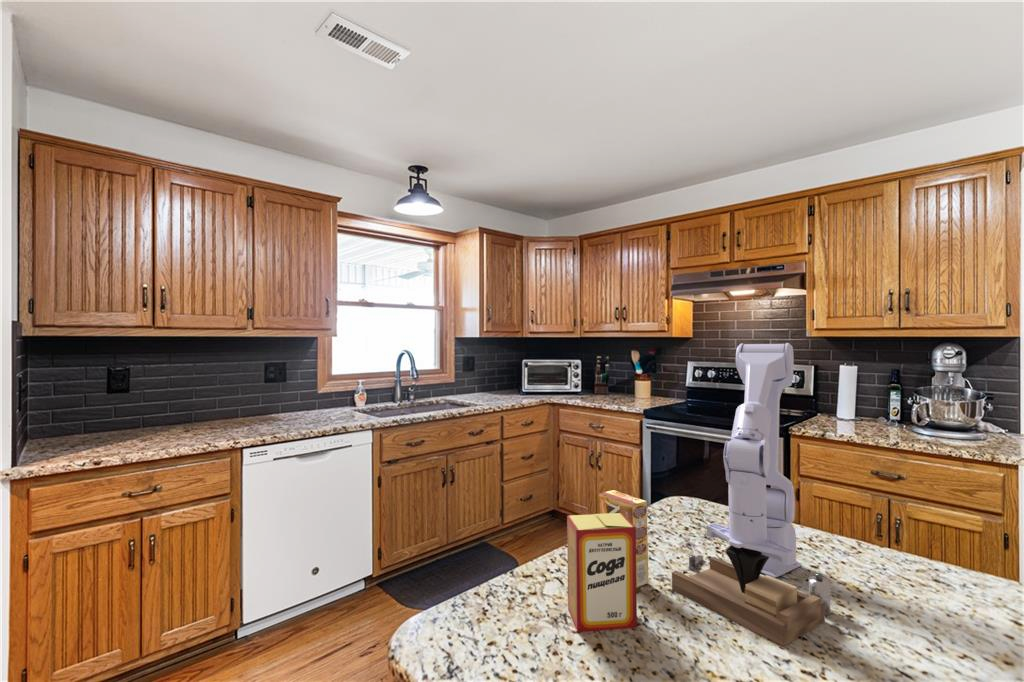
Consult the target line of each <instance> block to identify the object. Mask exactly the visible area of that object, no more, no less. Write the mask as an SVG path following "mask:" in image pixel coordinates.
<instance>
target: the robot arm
mask: <svg viewBox="0 0 1024 682" xmlns="http://www.w3.org/2000/svg"><path fill="white" fill-rule="evenodd" d="M735 351H736V352H735V366H736V370H737V372H738V375H739V378H740V379H741V380H742V381H741V382H742V384H743V385H744V400H743V401H744V402H743V403H742V404H740V405H738V406H737V408H736V409H735V415H734V420H733V424H732V429H731V437H730V440H726V441H725V443H724V448H723V465H724V470H725V480H726V483H728V484H727V485H728V526H727V525H722V524H718V523H715V522H712V523H709V524H706V537H710V538H717V539H719V540H721V541H724V542H728V545H729V547H727V548H726V550H725V554H726V556H727V557H728V558H729V561H730V562H731V564H733V566H734V569H735V571H736V574H737V577H738V580H739V584H740V588H741V592H742V593H744V594H745V588H746V584H748V583H750V582H752V581H754V580H757V579H759V576H761V574H763V575H765V576H766V575H768V576H770V577H773V578H775V579H777V578H779V577H780V576H782V575H784V574H787V573H789V572H790V571H793V570H795V569H798V568H799V567H801V566H802V564H801V562H799V561H797V533H796V529H795V527H794V525H793V524H792V523H793V522H794V521H795V514H796V498H795V486H794V485H793V482H792V481H791V480H790V479H789V478H787V477H786V476H784V474H782V473H781V472H780V471H779V460H780V459H779V457H780V456H779V453H780V451H779V450H780V449H779V448H780V447H779V446H780V403H781V402H780V400H781V396H782V392H783V390H784V389H787V388H790V387H791V386H792V385H793V381H794V367H795V366H794V362H795V361H794V347H793V345H791V343H789V342H786V343H743V342H742V343H740V344H739V345H737V347H736V350H735ZM767 486H773V487H767ZM775 487H778V488H775Z"/></svg>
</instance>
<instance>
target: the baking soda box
mask: <svg viewBox="0 0 1024 682" xmlns="http://www.w3.org/2000/svg"><path fill="white" fill-rule="evenodd" d="M566 524H567V525H566V532H567V533H566V536H567V537H566V539H567V541H566V542H567V545H566V546H567V547H566V548H567V550H566V551H567V555H566V556H567V610H568V612H569V614H570V618H571V620H572V623H573V625H574V627H575V630H576V633H580V632H581V633H583V632H584V633H585V632H596V631H610V630H611V631H613V630H624V629H637V628H638V620H637V619H638V607H637V603H638V602H637V600H638V599H637V597H638V596H637V594H638V593H637V588H636V527H635V526H634V525H633V524H632V523H631V522H630V521H629V520H628V519H627V518H626V517H625V516H624V515H623V514H622V513H607V514H600V513H594V514H577V515H576V514H575V515H574V514H573V515H567V516H566Z"/></svg>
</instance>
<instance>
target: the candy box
mask: <svg viewBox="0 0 1024 682" xmlns="http://www.w3.org/2000/svg"><path fill="white" fill-rule="evenodd" d="M598 496H599V500H598V501H599V514H607V513H622V514H623V515H624V516H625V517H626V518H627V519H628V520H629V521H630V522H631V523H632V524H633V525H634V526H635V527H636V589H637V588H641V586H644V585H645V586H646V584H649V546H648V545H649V543H648V542H649V541H648V540H649V539H648V537H649V536H648V501H647V500H644V499H641V498H639V497H636V496H632V495H630V494H626V493H623V492H620V491H618V490H614V489H613V490H608V491H604V492H600V493H599V494H598Z"/></svg>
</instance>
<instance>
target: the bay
mask: <svg viewBox="0 0 1024 682" xmlns="http://www.w3.org/2000/svg"><path fill="white" fill-rule="evenodd" d="M761 577H763V576H762V575H760V576H759V578H761ZM671 589H672V590H673V591H674V592H676V593H678V594H680V595H682V596H684V597H686V598H689V599H690V600H693V601H694V602H695V603H698V604H700V605H702V606H704V607H706V608H708V609H709V610H710V611H711V610H712V611H714V612H715V613H717V614H719V615H721V616H723V617H724V618H725V617H726V618H727V619H728V620H731V621H733V622H735V623H737V624H739V625H740V626H743V627H744V628H747V629H749V631H752V632H754V633H756V634H757V635H760V636H762V637H764V638H766V639H768V640H769V641H772V642H774V643H775V644H777V645H779V646H781V647H785V646H787V645H788V644H790V643H791V642H793V641H795V640H796V639H798V638H800V637H801V636H803V635H805V634H806V633H808V632H810V631H811V630H813V629H814V628H816V627H818V626H820V625H821V624H823V623H824V622H825V621H826V616H825V602H823V601H821V598H820V597H817V596H815V595H811V596H809V594H806V593H804V592H801V591H799V590H797V591H798V596H797V603H796V604H794V605H793V606H791V607H789V608H787V609H785V610H783V611H781V612H780V613H779V619H777V618H775V617H773V616H771V615H769V614H767V613H765V612H763V611H760V610H758V609H756V608H754V607H752V606H750V605H748V604H746V603H745V601H746V594H744V593H742V592H741V588H740V584H739V580H738V577H737V574H736V571H735V569H734V566H733V564H732V563H730V562H727V561H726V560H723V559H721V558H718V557H715V556H712V557H710V558H709V568H708V569H705V570H703V571H700V572H698V573H695V574H692V575H690V576H688V575H687V574H684V573H682V572H679V571H677V570H676V571H675V570H674V571H673V572H671Z"/></svg>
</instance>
